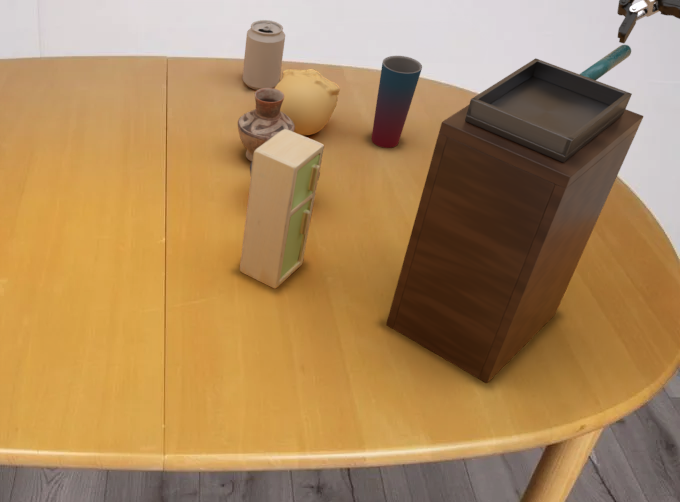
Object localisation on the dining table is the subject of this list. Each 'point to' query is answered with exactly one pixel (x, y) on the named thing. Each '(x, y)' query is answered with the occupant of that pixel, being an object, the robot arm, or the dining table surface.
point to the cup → (394, 99)
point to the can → (263, 54)
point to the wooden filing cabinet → (499, 240)
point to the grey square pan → (551, 105)
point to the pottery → (263, 121)
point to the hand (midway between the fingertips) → (652, 48)
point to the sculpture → (307, 99)
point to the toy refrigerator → (280, 206)
